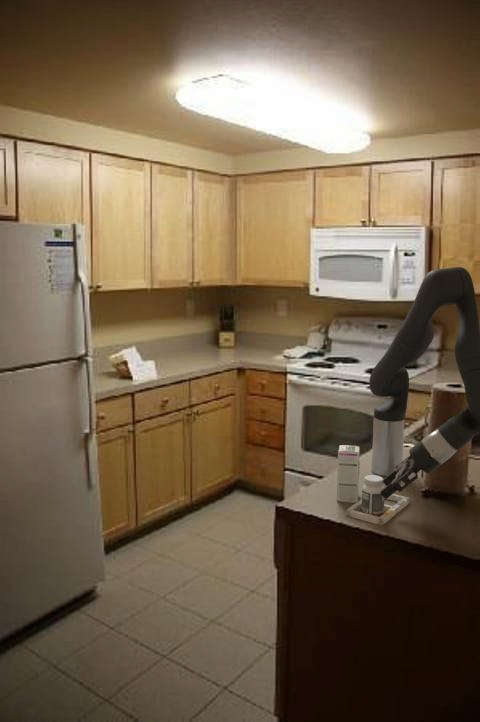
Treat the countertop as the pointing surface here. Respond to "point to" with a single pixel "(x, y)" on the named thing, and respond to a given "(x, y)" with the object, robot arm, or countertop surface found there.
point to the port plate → (389, 510)
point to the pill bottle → (373, 496)
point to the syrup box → (348, 473)
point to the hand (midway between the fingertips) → (383, 489)
